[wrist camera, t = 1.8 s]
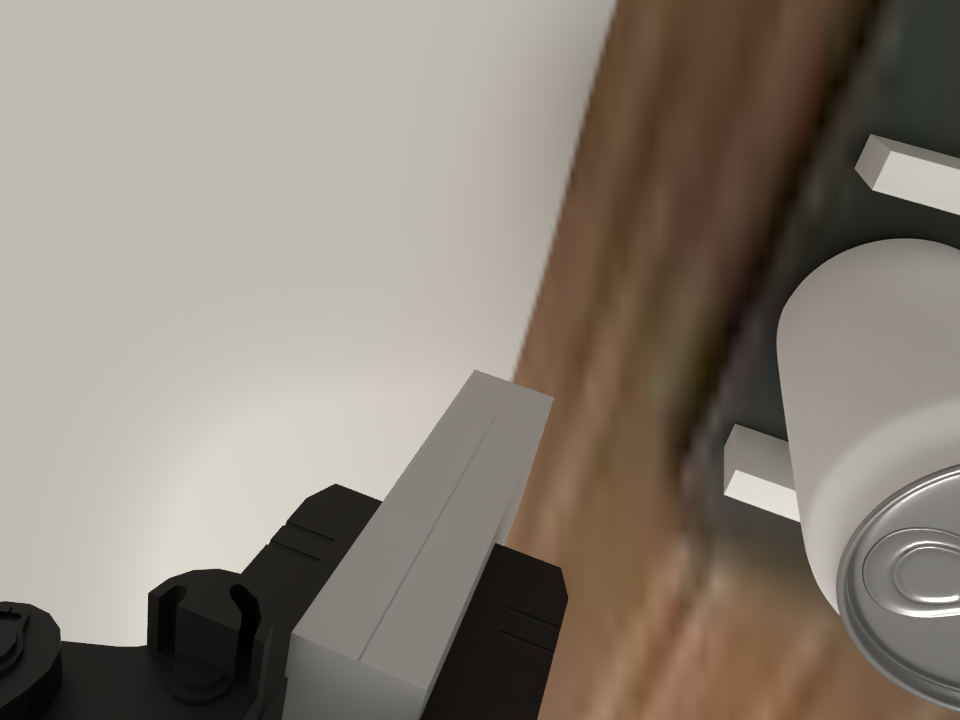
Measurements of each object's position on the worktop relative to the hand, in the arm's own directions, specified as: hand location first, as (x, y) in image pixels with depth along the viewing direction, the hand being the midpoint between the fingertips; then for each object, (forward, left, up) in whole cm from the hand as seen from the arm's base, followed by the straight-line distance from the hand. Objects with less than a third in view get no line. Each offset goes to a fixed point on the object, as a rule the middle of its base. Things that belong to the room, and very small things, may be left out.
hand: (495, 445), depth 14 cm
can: (-5, +7, -13) cm, 16 cm away
